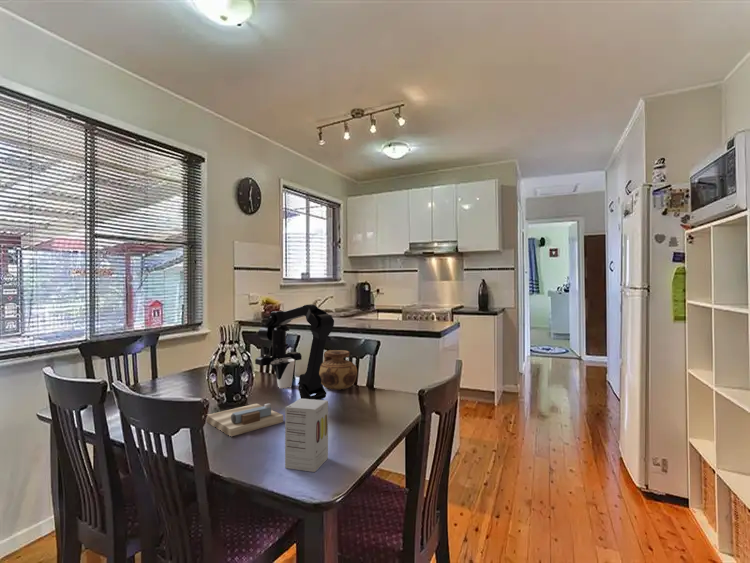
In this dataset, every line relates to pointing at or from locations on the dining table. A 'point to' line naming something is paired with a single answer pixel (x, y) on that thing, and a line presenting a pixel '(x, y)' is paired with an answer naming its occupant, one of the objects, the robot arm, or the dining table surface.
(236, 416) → the hinged leg
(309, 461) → the supplement box
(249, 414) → the block
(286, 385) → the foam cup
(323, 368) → the clay pot
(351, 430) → the dining table surface
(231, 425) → the stool seat
